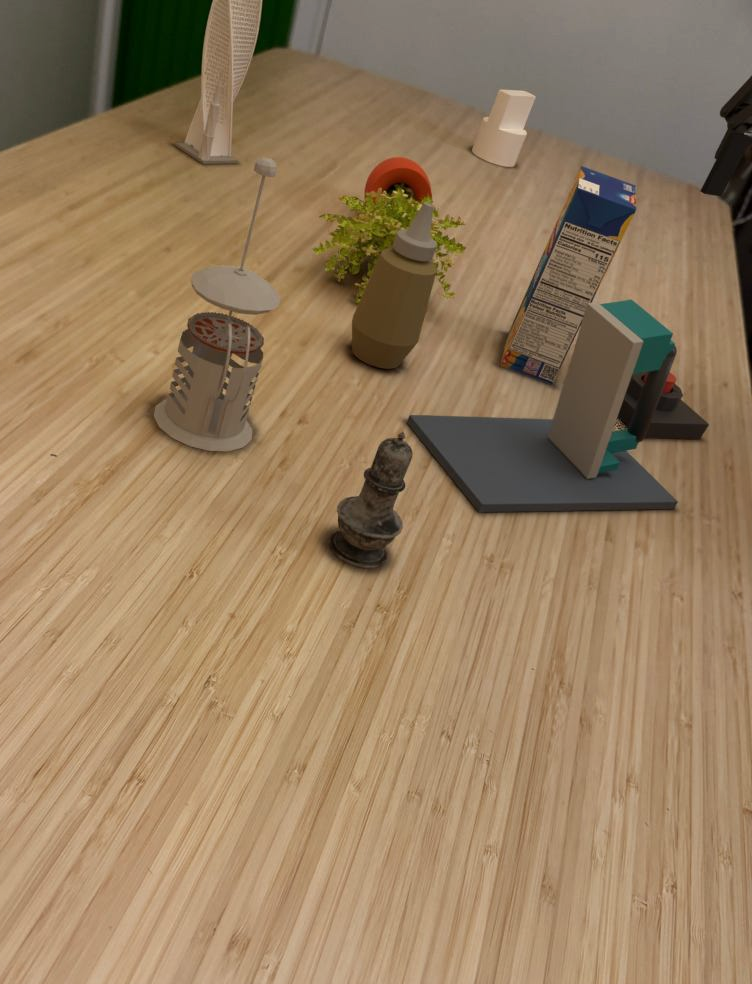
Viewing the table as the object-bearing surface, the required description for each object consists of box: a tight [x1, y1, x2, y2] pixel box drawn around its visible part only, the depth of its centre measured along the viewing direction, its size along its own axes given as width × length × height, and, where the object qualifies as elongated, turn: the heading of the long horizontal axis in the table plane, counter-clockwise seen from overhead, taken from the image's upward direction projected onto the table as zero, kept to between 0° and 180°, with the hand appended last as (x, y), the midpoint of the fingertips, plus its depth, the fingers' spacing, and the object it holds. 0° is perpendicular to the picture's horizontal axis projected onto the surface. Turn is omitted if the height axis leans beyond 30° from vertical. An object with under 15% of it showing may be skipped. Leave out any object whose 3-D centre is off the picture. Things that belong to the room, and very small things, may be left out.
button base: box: [617, 372, 710, 440], centre depth 129 cm, size 12×10×4 cm
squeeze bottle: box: [351, 202, 438, 370], centre depth 116 cm, size 8×8×18 cm
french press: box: [153, 156, 281, 452], centre depth 92 cm, size 10×12×25 cm
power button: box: [642, 371, 678, 393], centre depth 127 cm, size 4×4×2 cm
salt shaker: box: [328, 431, 414, 569], centre depth 87 cm, size 6×6×12 cm
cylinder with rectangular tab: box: [471, 89, 537, 168], centre depth 202 cm, size 9×9×12 cm
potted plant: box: [312, 156, 467, 305], centre depth 143 cm, size 19×14×45 cm
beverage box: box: [500, 165, 637, 386], centre depth 126 cm, size 7×11×22 cm, turn 164°
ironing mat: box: [406, 414, 679, 513], centre depth 112 cm, size 16×26×1 cm, turn 112°
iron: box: [548, 299, 678, 479], centre depth 108 cm, size 16×8×10 cm
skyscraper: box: [174, 0, 263, 165], centre depth 153 cm, size 8×8×28 cm
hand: (748, 218), depth 114 cm, fingers open, 12 cm apart
